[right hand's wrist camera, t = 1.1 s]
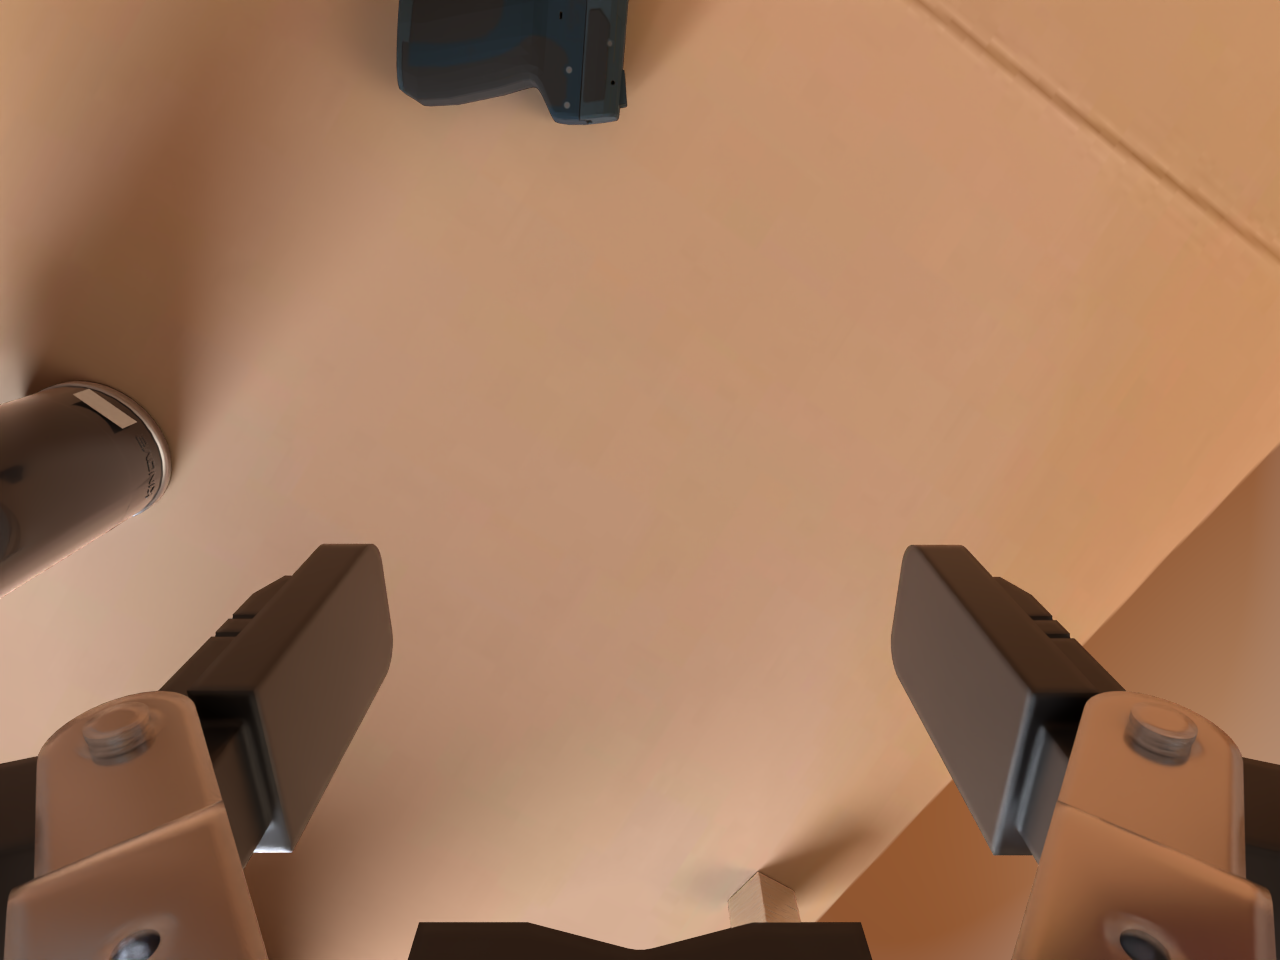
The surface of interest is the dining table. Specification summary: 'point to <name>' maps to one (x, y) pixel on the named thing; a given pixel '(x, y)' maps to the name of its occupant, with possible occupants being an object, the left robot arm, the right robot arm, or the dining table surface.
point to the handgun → (516, 53)
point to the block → (763, 902)
